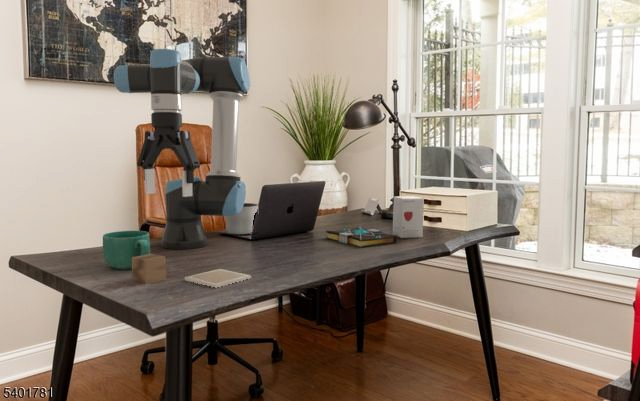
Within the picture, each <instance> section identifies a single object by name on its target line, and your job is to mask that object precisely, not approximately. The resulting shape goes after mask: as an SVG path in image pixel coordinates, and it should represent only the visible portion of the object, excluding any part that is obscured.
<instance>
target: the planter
mask: <svg viewBox="0 0 640 401" xmlns="http://www.w3.org/2000/svg"><path fill="white" fill-rule="evenodd" d="M257 209H258V210H259V204H258V203H251V202H244V205H243V208H242V210H241V212H240V213H239V214H238V215H235V216H225V218H226V220H225V223H226V224H225V227H226V230H225V231H226V233H227V234H228V235H232V234H246V233H251V232H252V226H253V220H254V215H255V213H256V212H257Z"/></svg>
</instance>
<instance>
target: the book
mask: <svg viewBox="0 0 640 401" xmlns="http://www.w3.org/2000/svg"><path fill="white" fill-rule="evenodd" d="M325 233H326V234H327V236H326V237H325V239H326V240H330V239H331V240H332V241H337V242H339V243H343V244H346V245H347V244H348V245H352V246H353V247H354V246H355V247H357V248H360V249H361V248H367V247H373V246H379V245H380V246H381V245H389V244H390V245H391V244H398V243H399V237H398V234H393V233H385V232H382V230H379V229H374V228H370V229H367V228H363V227H361V226H359V227H355V228H349V229H348V228H347V229H346V228H345V227H344V226H343V227H342V229H339V230H330V229H329V230H327V229H326V230H325ZM396 235H397V236H396Z"/></svg>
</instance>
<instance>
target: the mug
mask: <svg viewBox="0 0 640 401" xmlns="http://www.w3.org/2000/svg"><path fill="white" fill-rule="evenodd" d="M102 253H103V260H104V262H105V263H106V264H107V265H109V266H110V267H113V268H114V269H116V270H132V257H136V256H142V255H147V254H151V240H150V233H149V232H148V231H146V230H145V231H144V230H121V231H113V232H107V233H104V234H103V235H102Z"/></svg>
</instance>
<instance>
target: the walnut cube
mask: <svg viewBox="0 0 640 401" xmlns="http://www.w3.org/2000/svg"><path fill="white" fill-rule="evenodd" d="M131 278H132V281H134V280H135V282H138V281H139V283H142V282H143V283H142V284H145V283H148V284H151V282H152V283H155V282H159V281H163V280H167V260H166V256H164V255H159V254H154V253H150V254H147V255H142V256H136V257H132V269H131Z"/></svg>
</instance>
